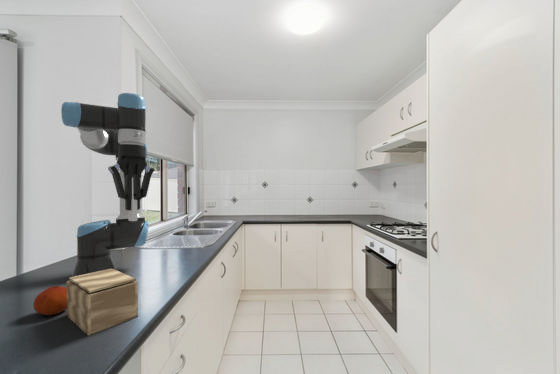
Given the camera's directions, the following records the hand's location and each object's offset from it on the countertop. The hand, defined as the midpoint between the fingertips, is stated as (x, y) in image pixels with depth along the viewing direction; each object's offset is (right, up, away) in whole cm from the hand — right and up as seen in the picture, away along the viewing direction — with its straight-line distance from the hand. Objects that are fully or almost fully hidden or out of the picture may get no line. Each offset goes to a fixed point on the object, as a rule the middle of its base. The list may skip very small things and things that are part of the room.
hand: (132, 220), depth 82 cm
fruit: (-22, -28, -3) cm, 35 cm away
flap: (-6, -17, -6) cm, 18 cm away
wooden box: (-6, -27, -6) cm, 28 cm away
